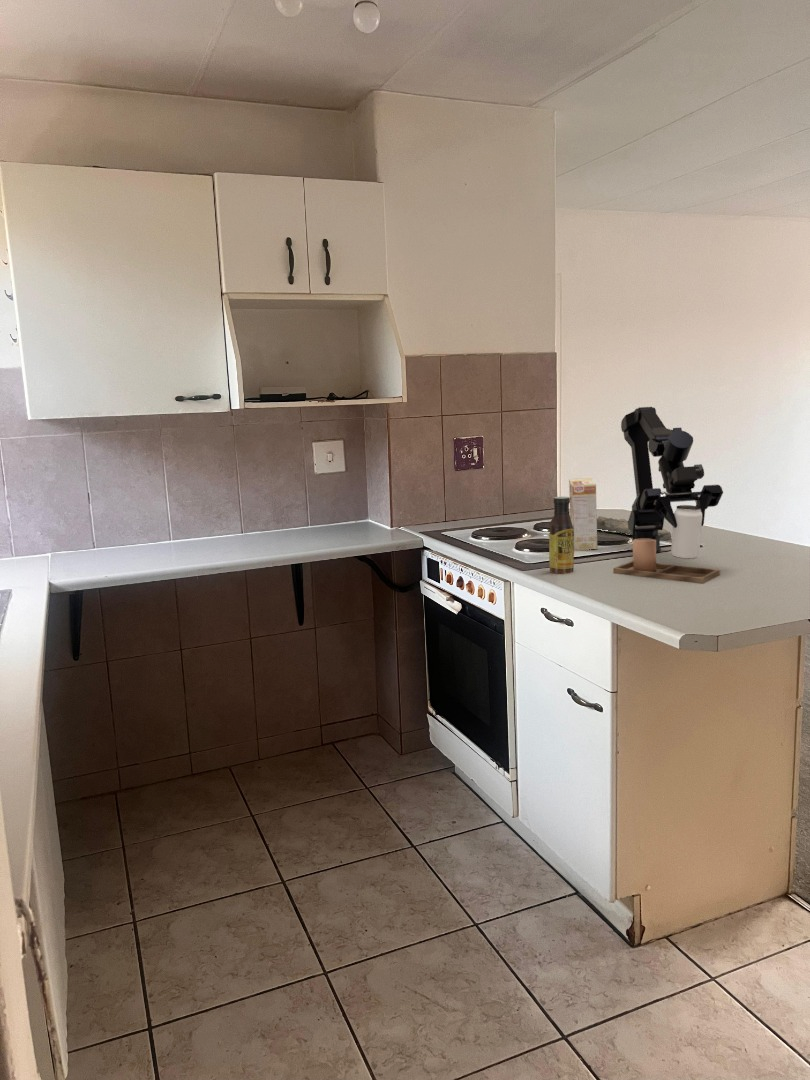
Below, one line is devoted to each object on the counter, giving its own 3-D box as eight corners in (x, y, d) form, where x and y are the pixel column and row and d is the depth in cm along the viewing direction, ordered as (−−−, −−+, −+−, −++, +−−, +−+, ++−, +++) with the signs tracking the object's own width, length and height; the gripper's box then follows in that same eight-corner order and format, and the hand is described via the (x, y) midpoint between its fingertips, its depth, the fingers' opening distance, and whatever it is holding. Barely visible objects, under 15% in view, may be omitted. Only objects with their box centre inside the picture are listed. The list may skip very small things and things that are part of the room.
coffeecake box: (570, 541, 251) (568, 478, 248) (593, 540, 250) (592, 477, 247) (573, 551, 237) (571, 484, 233) (598, 550, 236) (596, 483, 232)
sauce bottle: (559, 577, 206) (557, 499, 202) (544, 573, 211) (542, 497, 208) (580, 573, 209) (578, 496, 205) (564, 569, 214) (562, 494, 211)
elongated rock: (655, 548, 242) (679, 545, 246) (656, 530, 240) (680, 528, 245) (577, 527, 272) (600, 525, 276) (578, 512, 271) (601, 510, 275)
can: (701, 555, 197) (706, 506, 194) (695, 560, 192) (699, 510, 189) (674, 551, 200) (678, 503, 198) (667, 557, 195) (671, 508, 192)
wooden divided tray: (613, 575, 204) (613, 568, 204) (632, 567, 211) (632, 560, 211) (702, 586, 189) (702, 578, 188) (720, 577, 196) (720, 569, 195)
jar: (629, 572, 204) (628, 541, 202) (639, 568, 208) (639, 537, 206) (649, 575, 200) (649, 543, 198) (660, 570, 204) (660, 539, 202)
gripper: (643, 456, 195) (657, 508, 186) (720, 451, 195) (738, 503, 186) (634, 484, 204) (647, 535, 195) (708, 479, 204) (724, 530, 195)
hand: (689, 525), depth 193 cm, fingers closed on can, 6 cm apart
